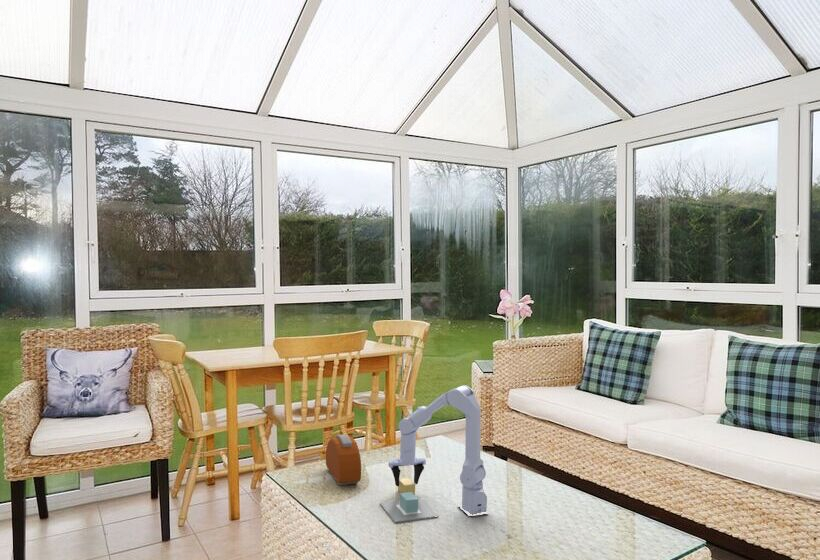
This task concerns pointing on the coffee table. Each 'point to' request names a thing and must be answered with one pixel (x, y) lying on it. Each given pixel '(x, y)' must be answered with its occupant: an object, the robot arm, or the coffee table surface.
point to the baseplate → (400, 516)
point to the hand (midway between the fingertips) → (406, 484)
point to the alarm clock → (343, 459)
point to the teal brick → (408, 502)
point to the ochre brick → (406, 486)
